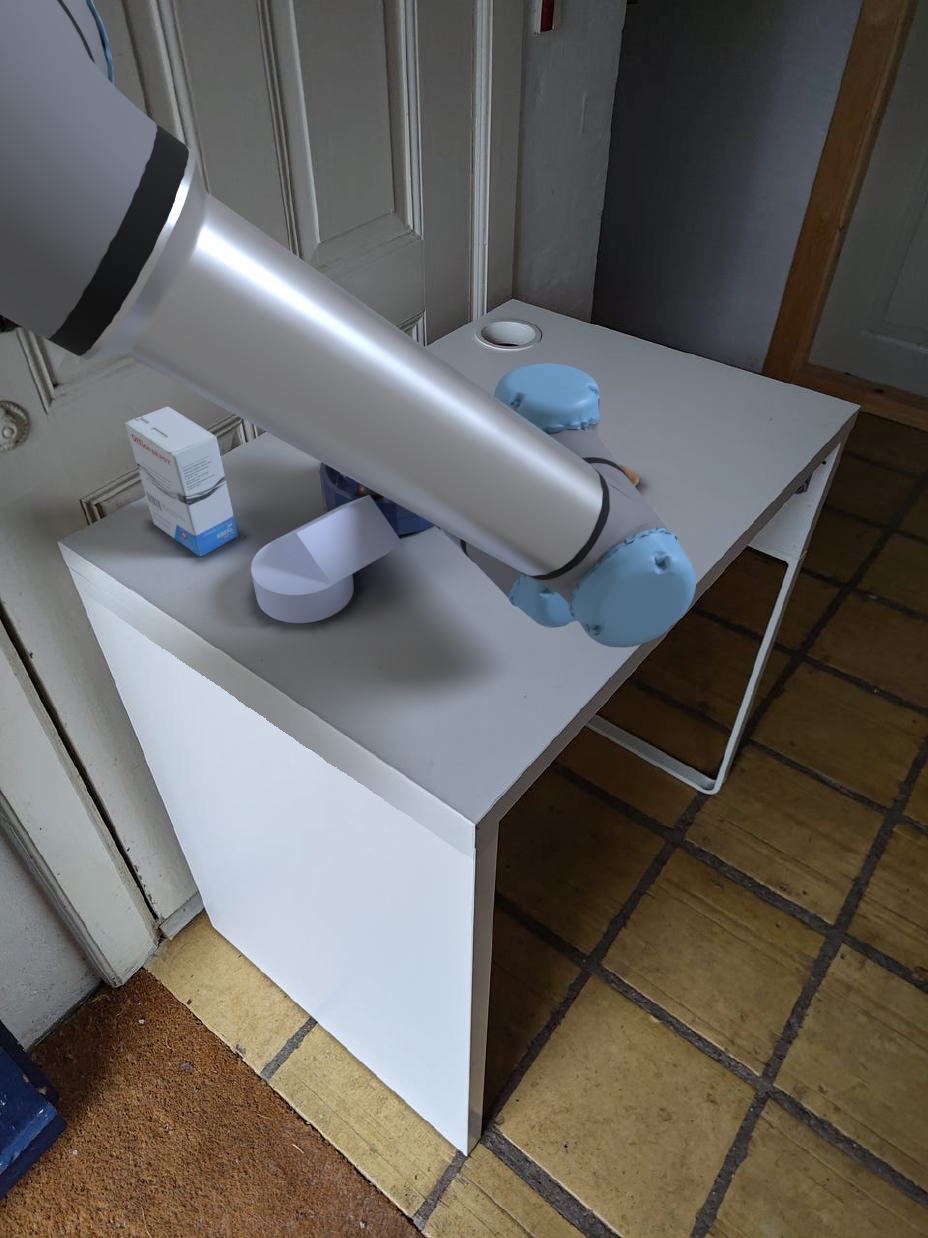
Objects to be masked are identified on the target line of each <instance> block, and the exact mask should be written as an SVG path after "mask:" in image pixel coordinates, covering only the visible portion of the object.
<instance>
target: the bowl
mask: <svg viewBox="0 0 928 1238" xmlns="http://www.w3.org/2000/svg"><path fill="white" fill-rule="evenodd" d="M318 471H319V478H320V485H321V492H322V495H321V496H322V501H323V504H324V508H325V511H326V513H328V512H330V511H332V510H334V509H335V508H337V507H339V506H341V505H344V504H346V503H349V502H352V501H354V500H357V499H360V498H362V497H358V496H355V492H356V488H357V486H358V485H359V484H360V483H359V482H357V481H355V480H353V479H351V478H350V477H348V476H346V475H344V474H342V473H340V472H339V471H337V470H335V469H333V468H331V467H330V466H328V465H326V464H324V463H322V462H320V465H319V469H318ZM373 501H374V502H375V504H376V505H377V507H378V508H379V509H380V511H381V512H382V514H383V515H384V517H385V518H386V520H387V521H388V523H389V524H390V525H391V527H392V528H393V530H394V531H395V533H396V534H397V536H401V535H405V534H412V533H417V532H420V531H424V530H426V529H428V528H431V527H433V526H435V525H434V524H433V523H431V522H429V521H428V520H426V519H424V518H422V517H420V516H419V515H417V514H415V513H413V512H411V511H409V510H408V509H406V508H404V507H402V506H400V505H399V504H397V503H395V502H393V501H391V500H389V499H388V498H386V497H384V499H383V500H373Z"/></svg>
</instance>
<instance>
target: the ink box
mask: <svg viewBox="0 0 928 1238" xmlns="http://www.w3.org/2000/svg"><path fill="white" fill-rule="evenodd" d="M124 425H125V429H126V431H127V435H128V438H129V442H130V445H131V449H132V452H133V456H134V460H135V463H136V466H137V469H138V473H139V476H140V480H141V483H142V487H143V491H144V494H145V498H146V501H147V505H148V508H149V512H150V515H151V519H152V523H153V525H155V526H156V527H157V528H159V529H160V530H162V531H163V532H165V534H167V535H168V536H170V537H171V538H173V539H174V540H176V542H178V543H180V544H181V545H182V546H184V547H185V548H187V549H188V551H189V550H190V551H191V552H192V553H194V554H195V555H196V556H198V557H203V556H205V555H208V554H209V553H211V552H213V551H214V550H216V549H218V548H219V547H221V546H223V545H225V544H227V543H228V542H230V541H232V540H234V539H236V538H237V537H239V534H238V530H237V525H236V520H235V517H234V511H233V506H232V502H231V497H230V494H229V488H228V484H227V479H226V474H225V471H224V466H223V461H222V456H221V451H220V447H219V442H218V437H217V436H216V435H215V434H213V433H211V432H210V431H208V430H207V429H205V428H204V427H202V426H200V425H199V424H198V423H196V422H194V421H192V420H191V419H189V418H188V417H186V416H185V415H182V414H181V413H179V412H178V411H176V410H175V409H173V408H172V407H170V406H164V407H162V408H160V409H157V410H153V411H152V412H149V413H147V414H144V415H141V416H138V417H135V418H133V419H130V420H128V421H125V422H124Z"/></svg>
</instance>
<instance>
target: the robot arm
mask: <svg viewBox="0 0 928 1238" xmlns="http://www.w3.org/2000/svg"><path fill="white" fill-rule="evenodd" d="M113 61H114V60H113V56H112V51H111V47H110V42H109V37H108V34H107V30H106V28H105V25H104V23H103V20H102V18H101V16H100V14H99V12H98V10H97V9H96V6H95V4H94V1H93V0H0V315H1V316H3V317H4V318H6V319H7V320H9V321H11V322H13V323H14V324H17V325H18V326H20V327H22V328H24V329H26V330H28V331H29V332H32V333H34V334H36V335H37V336H40V337H42V338H43V339H45V340H47V341H49V342H51V343H52V344H54V345H57V346H58V347H60V348H62V349H63V350H66V351H68V352H70V353H71V354H73V355H75V356H77V357H79V358H81V359H84V360H86V361H87V360H92V359H96V358H101V357H105V356H110V355H114V354H121V355H126V356H128V357H130V358H132V359H133V360H135V361H137V362H139V363H141V364H143V365H145V366H146V367H148V368H150V369H152V370H154V371H156V372H158V373H159V374H161V375H162V376H165V377H166V378H168V379H170V380H172V381H174V382H175V383H177V384H179V385H181V386H182V387H184V388H186V389H188V390H190V391H192V392H193V393H195V394H197V395H199V396H201V397H202V398H204V399H206V400H208V401H210V402H211V403H213V404H215V405H217V406H219V407H220V408H222V409H224V410H226V411H228V412H229V413H232V414H233V415H236V416H237V417H239V418H240V419H242V420H244V421H246V422H248V423H250V424H252V425H253V426H255V427H257V428H259V429H261V430H262V431H264V432H266V433H268V434H270V435H272V436H273V437H276V438H277V439H278V440H281V441H283V442H285V443H286V444H288V445H289V446H291V447H294V448H295V449H297V450H299V451H301V452H302V453H304V454H306V455H308V456H309V457H312V458H314V459H315V460H317V461H319V462H320V463H321V462H322V463H324V464H326V465H328V466H330V467H331V468H333V469H335V470H337V471H339V472H340V473H342V474H344V475H346V476H348V477H350V478H351V479H353V480H355V481H357V482H359V483H360V484H362V485H364V486H366V487H367V493H368V494H369V495H377V494H380V495H382V496H384V497H386V498H388V499H389V500H391V501H393V502H395V503H397V504H399V505H400V506H402V507H404V508H406V509H408V510H409V511H411V512H413V513H415V514H417V515H419V516H420V517H422V518H424V519H426V520H428V521H429V522H431V523H433V524H434V525H433V526H435V527H436V528H438V529H439V530H440V531H441V532H442V533H443V534H444V536H446V537H447V538H448V540H450V541H451V542H452V543H453V544H454V545H455V546H456V547H457V548H458V549H459V550H460V551H461V552H462V553H463V554H464V555H465V556H466V557H467V558H468V559H469V560H470V561H471V562H472V563H474V564H475V565H476V566H477V567H478V568H479V569H480V570H481V571H482V572H483V574H485V575H486V577H488V579H489V580H491V582H492V583H493V584H494V585H495V586H496V587H497V588H498V589H499V590H500V591H501V592H502V593H503V594H504V595H505V597H507V599H508V602H510V604H511V605H513V606H515V607H517V608H518V609H520V611H522V612H523V613H524V614H525V615H527V616H528V617H529V618H530V619H531V620H533V622H535V623H536V624H538V625H540V626H542V627H545V628H549V629H550V628H551V629H553V628H561V627H566V626H567V625H569V624H570V623H573V622H578V623H579V625H580V626H581V627H582V629H583V630H584V633H586V635H587V636H588V637H589V638H591V639H592V640H593V641H595V642H596V643H597V644H600V645H603V646H606V647H610V648H623V649H624V648H633V647H636V646H640V645H644V644H646V643H649V642H650V641H651V642H652V641H653V640H655V639H657V638H659V637H660V636H662V635H664V634H665V633H667V632H668V631H669V629H670V627H672V626H673V625H675V624H676V623H677V621H679V620H680V619H682V618H683V616H684V615H685V614H686V612H687V611H688V609H689V608H690V606H691V604H692V602H693V600H694V597H695V594H696V588H697V577H696V572H695V568H694V566H693V564H692V561H690V558H689V557H688V556H687V554H686V552H685V551H684V548H683V547H682V546H681V544H680V542H679V540H678V535H676V534H675V532H674V531H672V530H670V529H669V528H668V527H667V525H665V524H664V522H663V521H662V519H661V518H660V517H659V516H658V515H657V513H656V512H655V511H654V509H653V507H651V505H650V504H649V503H648V501H647V500H646V499H645V498H644V496H643V495H642V494H641V493H640V491H639V490H638V489H637V487H635V486H634V485H633V484H632V483H631V481H630V480H629V478H628V477H627V475H626V474H625V472H624V471H623V469H622V468H621V467H620V465H619V464H620V463H619V462H618V461H617V460H616V458H615V457H614V456H613V454H612V453H611V452H610V450H609V449H608V448H607V446H606V444H604V443H603V441H602V440H601V439H600V437H599V435H598V427H599V422H600V421H601V420H602V414H601V413H600V405H601V404H600V403H601V392H600V388H599V385H598V383H597V382H596V381H595V379H594V378H593V377H592V376H591V375H589V374H588V373H586V372H585V371H583V370H581V369H579V368H576V367H573V366H570V365H566V364H560V363H550V362H544V363H541V362H540V363H535V364H526V365H522V366H518V367H516V368H514V369H512V370H510V371H508V372H507V373H506V374H504V375H503V376H502V377H501V378H500V379H499V380H498V382H497V384H496V386H495V390H494V394H492V393H490V392H489V391H488V390H486V388H485V389H484V387H482V386H480V385H479V384H477V383H476V382H475V381H473V379H471V378H469V377H468V376H466V375H465V374H464V373H462V372H461V371H459V370H458V369H457V368H455V367H454V366H452V365H451V364H449V363H448V362H447V361H446V360H444V359H442V358H441V357H440V356H438V355H437V354H435V353H434V352H433V351H431V350H430V349H428V348H427V347H426V346H424V345H423V344H421V343H420V342H419V341H418V340H416V339H415V338H413V337H412V336H410V335H409V334H407V333H406V332H404V331H403V330H402V329H401V328H399V327H398V326H397V325H394V324H393V323H392V322H390V321H389V320H388V319H387V318H385V317H383V316H382V315H381V314H379V313H378V312H377V311H375V310H374V309H372V308H371V307H369V306H368V305H367V304H365V303H364V302H362V301H361V300H360V299H358V298H357V297H355V296H354V295H353V294H351V293H349V292H348V291H347V290H346V289H344V288H343V287H341V286H340V285H339V284H337V283H336V282H335V281H333V280H331V279H330V278H328V277H327V276H326V275H324V274H323V273H321V272H320V271H319V270H318V269H316V268H315V267H313V266H312V265H310V264H309V263H308V262H307V261H304V260H303V259H302V258H301V257H299V256H298V255H296V254H295V253H294V252H292V251H290V250H289V249H288V248H286V246H284V245H282V244H281V243H279V242H278V241H276V240H275V239H274V238H272V237H271V236H269V234H267V233H266V232H264V231H262V230H261V229H260V228H258V227H257V226H255V224H253V223H251V222H250V221H248V220H247V219H246V218H244V217H243V216H241V215H240V214H239V213H237V212H236V211H234V210H233V209H232V208H230V207H229V206H227V205H226V204H225V203H223V202H222V201H220V200H219V199H218V198H216V197H215V196H214V195H212V194H210V193H209V192H208V191H207V189H206V187H205V183H204V180H203V177H202V173H201V170H200V167H199V163H198V160H197V156H196V153H195V151H194V150H193V149H192V148H190V147H189V146H188V145H187V144H185V143H184V142H182V141H181V140H180V139H178V138H177V137H176V136H174V135H173V134H171V133H170V132H169V131H167V130H166V129H165V128H163V127H162V126H161V125H159V124H158V123H156V122H155V121H154V120H153V119H151V118H150V117H149V116H148V115H147V114H145V113H144V112H143V111H142V110H141V109H140V108H138V107H137V106H136V105H135V104H134V103H133V102H132V101H131V100H130V99H129V98H128V97H126V96H125V95H124V94H123V92H121V91H120V90H119V89H118V88H117V87H116V86H115V77H114V63H113ZM618 463H619V464H618Z"/></svg>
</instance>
